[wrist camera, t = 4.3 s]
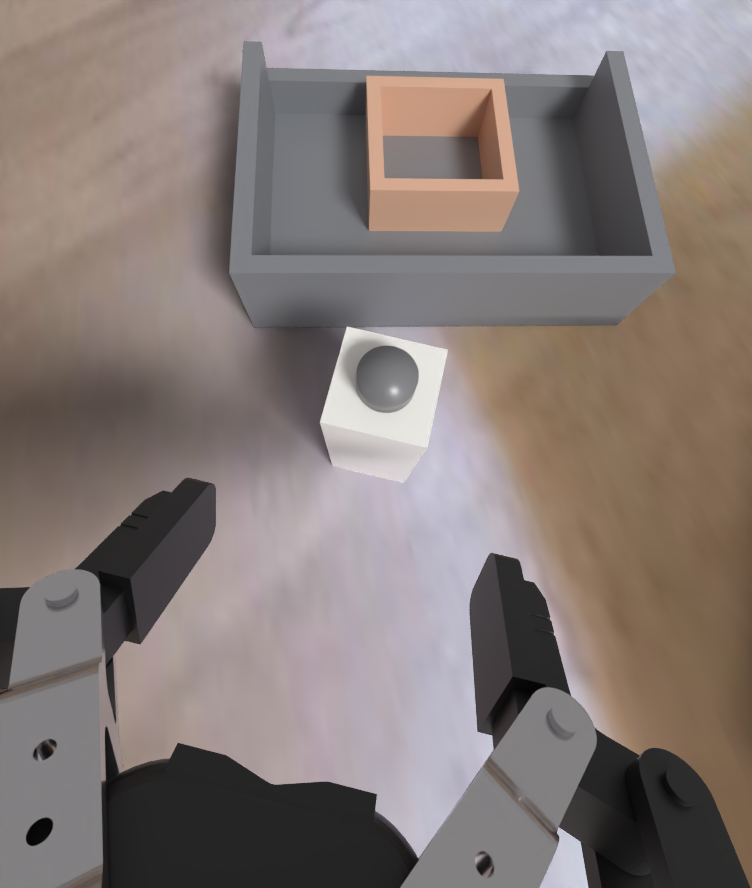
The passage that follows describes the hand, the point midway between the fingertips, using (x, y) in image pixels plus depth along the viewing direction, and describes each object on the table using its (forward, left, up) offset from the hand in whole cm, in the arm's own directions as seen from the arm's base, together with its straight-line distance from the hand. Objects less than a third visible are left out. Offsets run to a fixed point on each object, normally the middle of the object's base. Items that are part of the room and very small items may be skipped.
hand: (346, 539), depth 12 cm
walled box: (+5, +21, -10) cm, 24 cm away
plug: (+1, +6, -10) cm, 12 cm away
